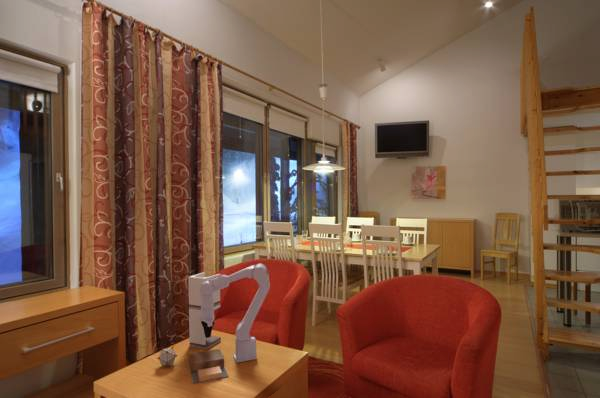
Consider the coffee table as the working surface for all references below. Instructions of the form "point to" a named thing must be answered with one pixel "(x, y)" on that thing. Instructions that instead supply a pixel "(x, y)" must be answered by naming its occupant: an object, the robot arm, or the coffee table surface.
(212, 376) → the tan rectangular brick
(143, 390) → the coffee table surface
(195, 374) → the mat
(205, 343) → the tall white column
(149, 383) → the coffee table surface
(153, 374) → the coffee table surface
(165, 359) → the grey spiky polyhedron
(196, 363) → the brown flat block
